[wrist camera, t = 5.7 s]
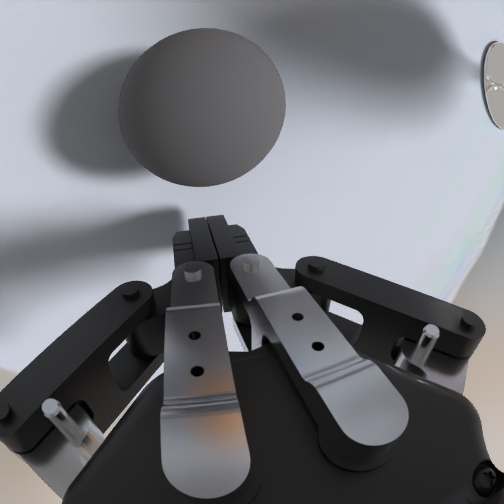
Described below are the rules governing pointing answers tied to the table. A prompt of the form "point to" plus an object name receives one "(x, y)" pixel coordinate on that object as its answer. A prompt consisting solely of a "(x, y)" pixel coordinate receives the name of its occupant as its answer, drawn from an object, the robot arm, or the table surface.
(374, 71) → the table surface
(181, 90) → the gray ball
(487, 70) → the wineglass
